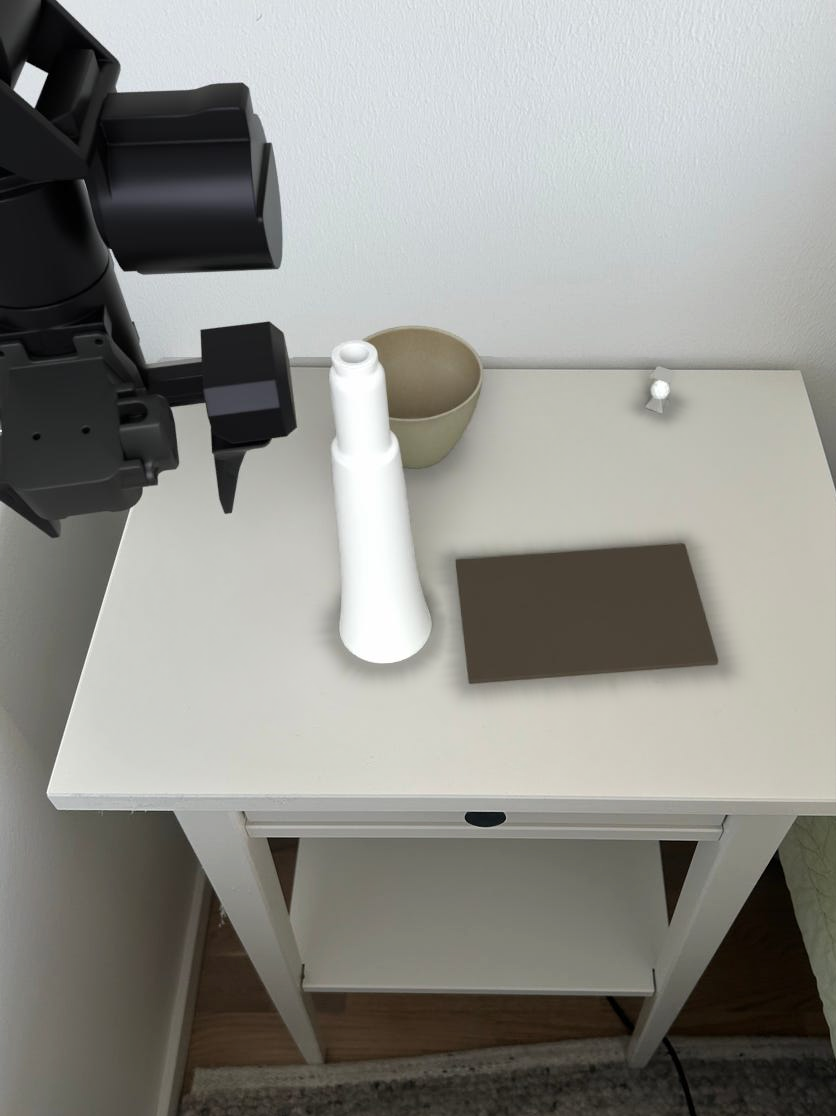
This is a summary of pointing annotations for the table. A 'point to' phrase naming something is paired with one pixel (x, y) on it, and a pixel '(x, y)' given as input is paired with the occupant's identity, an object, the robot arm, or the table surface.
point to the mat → (582, 613)
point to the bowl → (427, 389)
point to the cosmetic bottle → (372, 515)
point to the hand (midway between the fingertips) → (143, 520)
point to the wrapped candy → (660, 389)
